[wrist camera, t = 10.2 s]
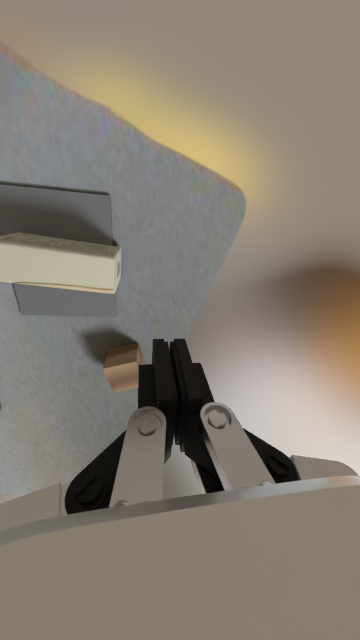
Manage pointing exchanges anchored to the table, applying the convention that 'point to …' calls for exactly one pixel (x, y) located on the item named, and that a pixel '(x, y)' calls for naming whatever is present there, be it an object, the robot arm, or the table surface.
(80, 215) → the mat
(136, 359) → the walnut block
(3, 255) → the skincare box
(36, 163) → the table surface
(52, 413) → the table surface
